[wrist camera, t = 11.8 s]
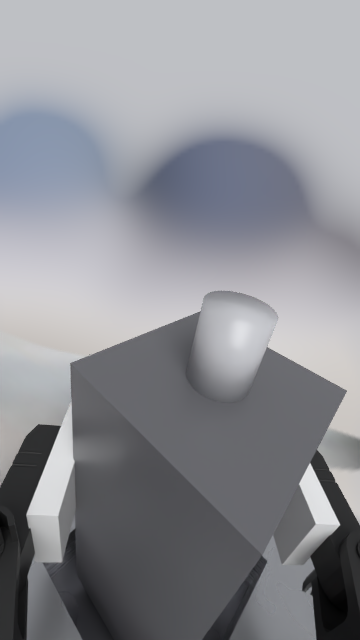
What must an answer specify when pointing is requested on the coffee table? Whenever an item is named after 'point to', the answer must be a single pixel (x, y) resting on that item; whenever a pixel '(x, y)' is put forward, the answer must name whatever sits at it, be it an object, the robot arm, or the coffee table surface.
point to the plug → (187, 464)
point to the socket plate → (224, 635)
